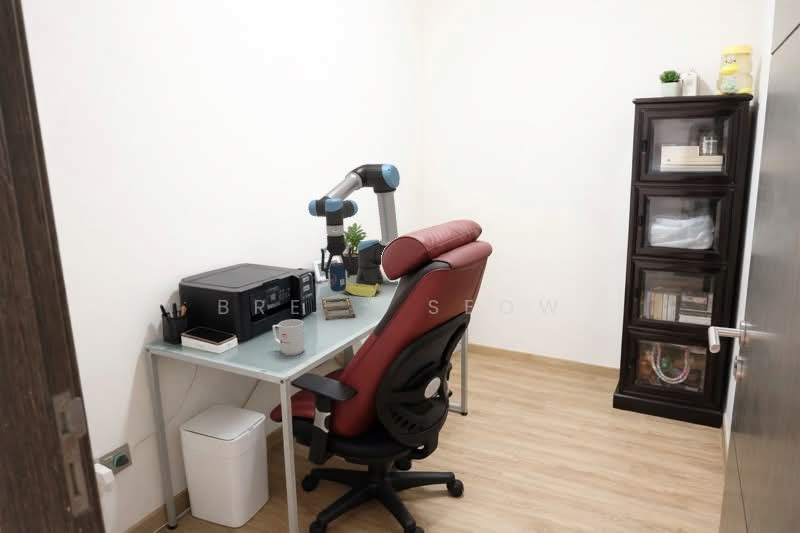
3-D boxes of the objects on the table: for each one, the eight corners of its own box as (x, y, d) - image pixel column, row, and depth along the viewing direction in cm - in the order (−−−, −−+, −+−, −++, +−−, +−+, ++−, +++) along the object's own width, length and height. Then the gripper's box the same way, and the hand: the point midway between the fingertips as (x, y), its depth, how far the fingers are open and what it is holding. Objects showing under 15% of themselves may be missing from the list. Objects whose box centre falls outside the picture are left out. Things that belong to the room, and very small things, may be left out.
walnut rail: (322, 301, 267) (322, 299, 267) (348, 299, 269) (348, 297, 269) (325, 320, 239) (325, 317, 239) (355, 317, 242) (355, 315, 241)
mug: (309, 348, 206) (307, 320, 204) (297, 357, 198) (295, 328, 196) (281, 345, 210) (279, 317, 208) (268, 353, 202) (266, 325, 200)
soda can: (327, 290, 246) (326, 264, 243) (340, 287, 250) (339, 261, 247) (336, 293, 241) (334, 266, 238) (349, 290, 245) (348, 264, 242)
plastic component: (381, 286, 284) (376, 282, 274) (379, 300, 282) (374, 297, 273) (345, 282, 288) (339, 278, 278) (342, 296, 287) (336, 292, 277)
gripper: (312, 237, 234) (316, 289, 240) (359, 234, 238) (361, 285, 243) (312, 234, 241) (315, 284, 247) (357, 231, 245) (359, 281, 250)
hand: (338, 285), depth 245 cm, fingers closed on soda can, 7 cm apart
